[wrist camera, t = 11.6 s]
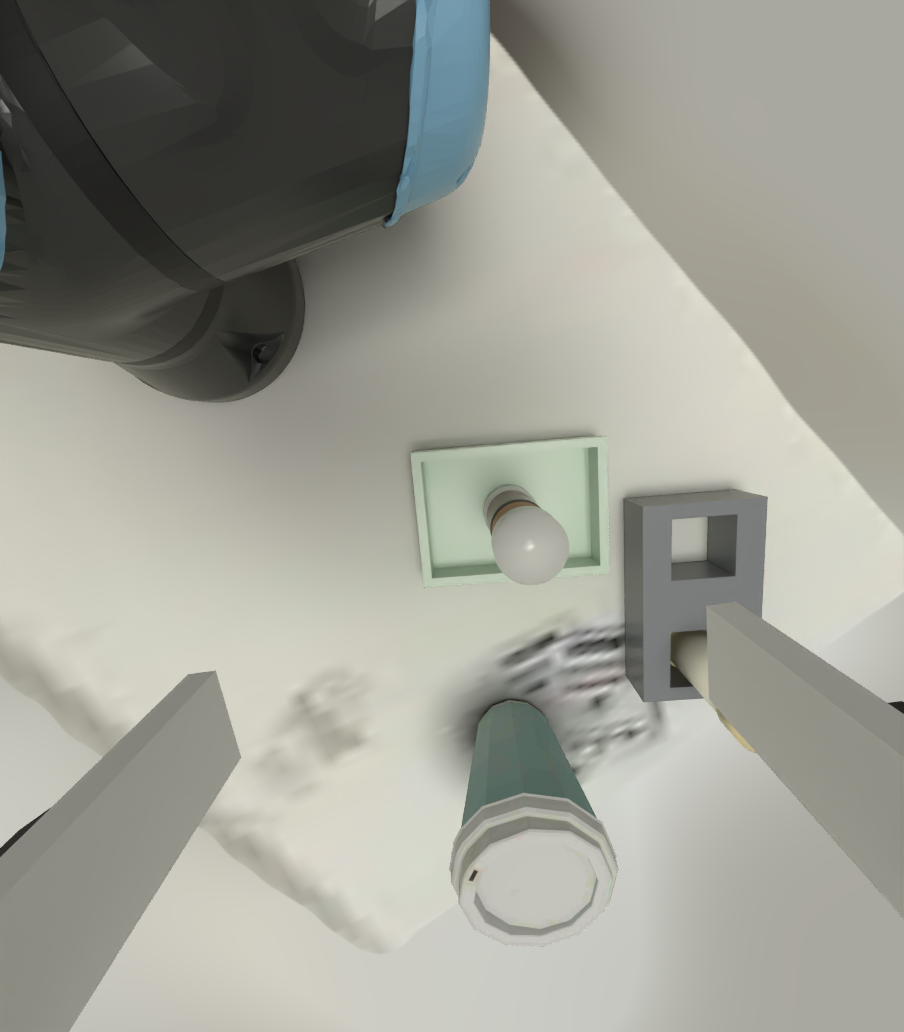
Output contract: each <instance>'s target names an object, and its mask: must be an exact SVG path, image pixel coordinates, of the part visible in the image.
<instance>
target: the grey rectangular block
mask: <svg viewBox="0 0 904 1032" xmlns="http://www.w3.org/2000/svg"><path fill="white" fill-rule="evenodd" d="M767 499H768V497H765V496H761V495H757V494H752V493H748V492H744V491H740V490H735V489H734V490H722V491H710V492H697V493H685V494H673V495H660V496H648V497H635V498H624V566H625V647H626V676H627V678H628V679H629V681H630V682H631V684H632V685H633V687H634V688H635V690H636V691H637V693H638V694H639V696H640V697H641V699H642V701H643V702H655V701H670V700H686V699H701V698H703V696H702V695H701V694H700V693H699V692H698V691H697V690H696V689H695V687H694V686H693V685H692V684H691V683H690V682H689V681H688V680H687V679H686V677H685V676H684V675H683V674H682V673H681V672H680V671H679V670H678V668H677V667H674V666H673V665H671V664H670V653H671V632H682V631H696V630H707V614H706V606H707V605H715V604H722V603H730V602H738V603H739V604H741V605H742V606H744V607H745V608H747V609H748V610H750V611H751V612H752V613H754V614H755V615H757V616H758V617H760V618H761V619H762V599H763V579H764V559H765V539H766V519H767ZM695 517H708V547H707V561H697V562H684V563H671V536H672V519H682V518H695Z"/></svg>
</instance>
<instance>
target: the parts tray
mask: <svg viewBox="0 0 904 1032" xmlns="http://www.w3.org/2000/svg"><path fill="white" fill-rule="evenodd" d="M410 456H411V466H412V476H413V486H414V495H415V505H416V515H417V524H418V534H419V544H420V554H421V563H422V573H423V583H424V588H425V587H438V586H452V585H465V584H478V583H491V582H505V581H513V580H511V579H509V578H508V577H507V576H505V575H504V574H503V573H502V571H501V570H500V569H499V567H498V565H497V563H496V560H495V557H494V553H493V549H492V544H491V537H492V536H491V533H490V530H489V529H488V527H487V525H486V522H485V519H484V514H483V506H484V502H485V499H486V498H487V496H488V495H489V493H490V492H491V491H492V490H494V489H495V488H497V487H499V486H502V485H506V484H513V485H517V486H520V487H522V488H524V489H525V490H526V491H527V492H528V493H529V494H530V495H531V496H532V497H533V498H534V499H535V501H536V503H537V505H538V506H539V507H540V508H541V509H543V510H545V511H547V512H548V513H549V514H551V515H552V516H553V517H554V518H555V519H556V520H557V521H558V522H559V523H560V524H561V526H562V527H563V528H564V530H565V532H566V534H567V536H568V540H569V555H568V558H567V561H566V563H565V565H564V567H563V568H562V570H561V571H560V572H559V573H558V574H557V575H556V576H555V577H553V578H558V577H571V576H584V575H597V574H610V566H609V513H608V461H607V436H584V437H572V438H561V439H549V440H538V441H526V442H514V443H503V444H491V445H479V446H468V447H456V448H444V449H433V450H421V451H413V452H412V453H410Z"/></svg>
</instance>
